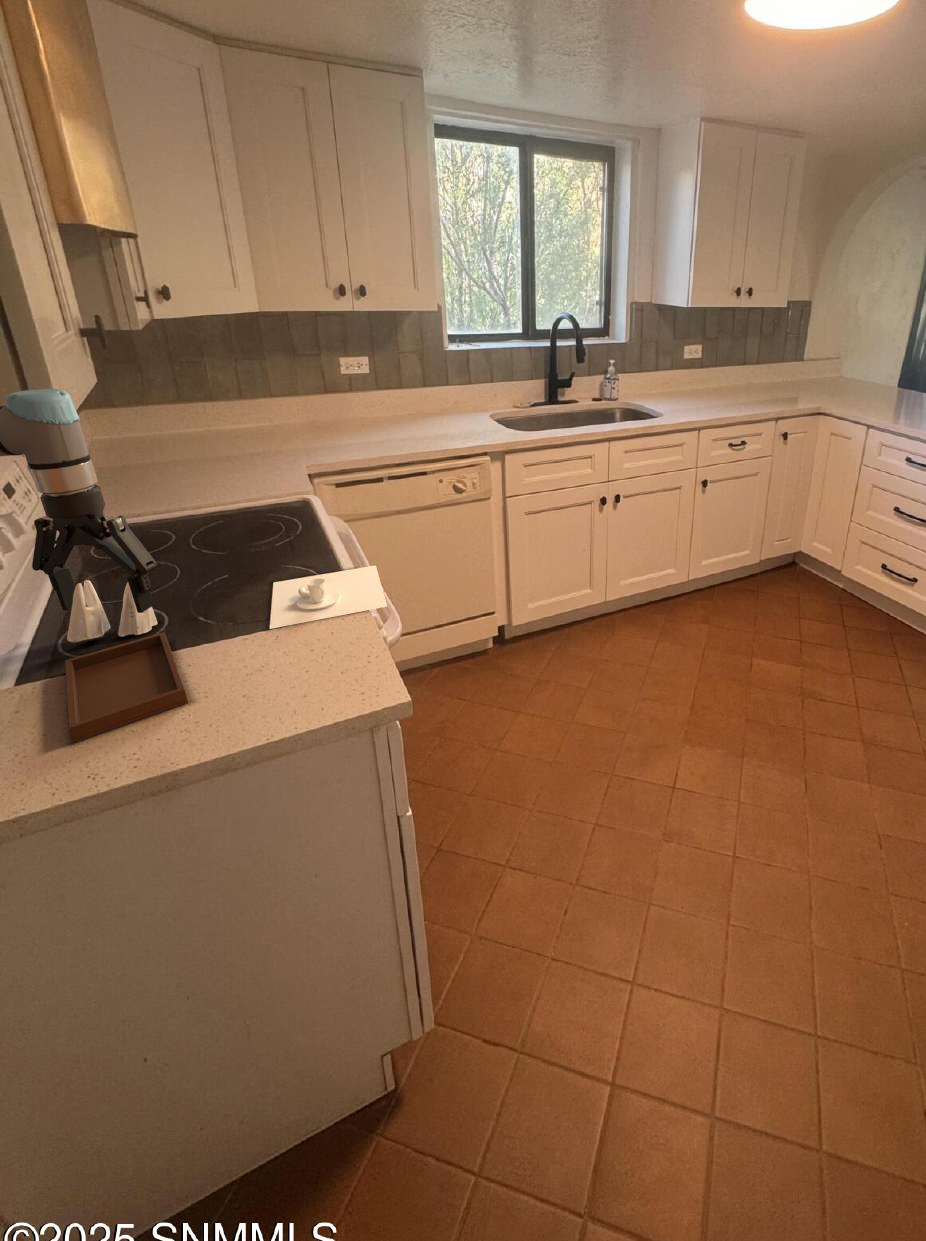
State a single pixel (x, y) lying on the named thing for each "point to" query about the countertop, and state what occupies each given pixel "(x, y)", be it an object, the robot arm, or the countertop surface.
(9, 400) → the robot arm
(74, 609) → the shaker set
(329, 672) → the countertop surface
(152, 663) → the tray
